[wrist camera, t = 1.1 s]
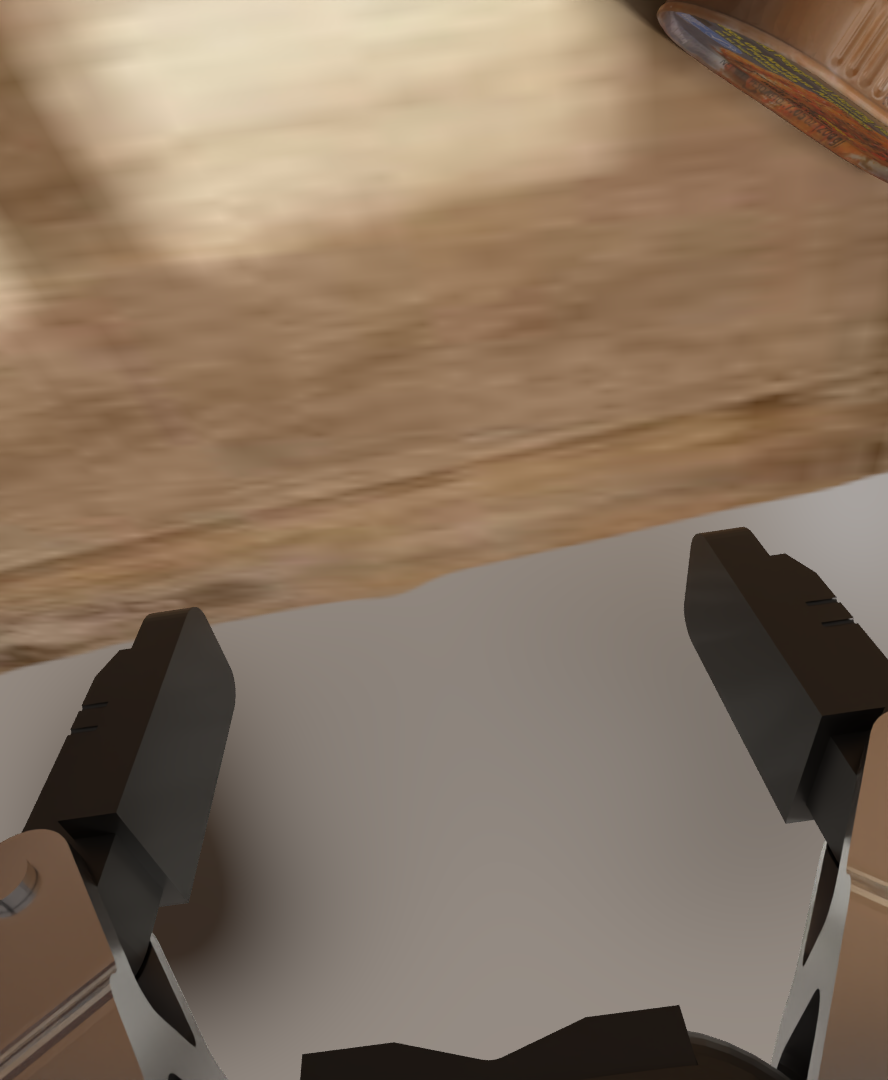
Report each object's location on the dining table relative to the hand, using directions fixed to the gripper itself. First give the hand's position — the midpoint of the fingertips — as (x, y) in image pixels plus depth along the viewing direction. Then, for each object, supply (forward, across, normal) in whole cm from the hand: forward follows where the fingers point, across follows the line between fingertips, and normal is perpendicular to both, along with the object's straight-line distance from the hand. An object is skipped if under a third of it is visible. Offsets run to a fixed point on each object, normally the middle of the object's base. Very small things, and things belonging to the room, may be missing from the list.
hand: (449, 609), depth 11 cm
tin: (+23, -16, -5) cm, 29 cm away
